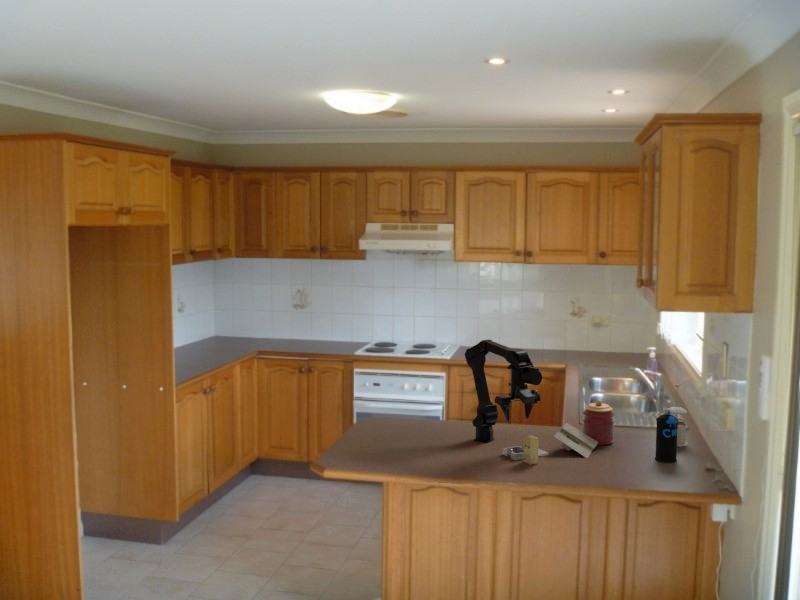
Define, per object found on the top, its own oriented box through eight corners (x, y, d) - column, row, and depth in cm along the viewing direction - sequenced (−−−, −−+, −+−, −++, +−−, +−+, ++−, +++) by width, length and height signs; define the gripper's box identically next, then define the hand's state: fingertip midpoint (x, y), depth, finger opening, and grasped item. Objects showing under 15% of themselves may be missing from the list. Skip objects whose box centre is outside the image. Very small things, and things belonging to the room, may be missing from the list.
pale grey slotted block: (585, 454, 325) (558, 428, 328) (599, 441, 321) (571, 415, 324) (573, 471, 311) (545, 444, 315) (587, 458, 307) (558, 431, 310)
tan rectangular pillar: (523, 461, 302) (523, 436, 301) (531, 460, 304) (531, 435, 303) (529, 464, 298) (530, 439, 297) (537, 463, 300) (538, 438, 299)
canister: (618, 440, 332) (619, 399, 330) (606, 447, 322) (607, 404, 320) (589, 435, 340) (590, 394, 338) (576, 441, 329) (577, 400, 327)
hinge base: (513, 460, 303) (513, 452, 303) (501, 454, 311) (501, 446, 311) (549, 455, 310) (549, 447, 310) (536, 449, 318) (536, 441, 318)
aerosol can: (650, 457, 307) (651, 407, 305) (667, 455, 310) (669, 405, 308) (664, 464, 300) (666, 412, 298) (681, 461, 302) (683, 410, 300)
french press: (670, 447, 322) (672, 386, 319) (656, 439, 333) (658, 381, 331) (692, 445, 324) (694, 385, 321) (677, 438, 335) (679, 380, 332)
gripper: (510, 387, 302) (509, 427, 304) (549, 382, 311) (548, 421, 312) (494, 381, 312) (493, 420, 314) (532, 377, 321) (532, 415, 322)
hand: (517, 419), depth 315 cm, fingers open, 9 cm apart
